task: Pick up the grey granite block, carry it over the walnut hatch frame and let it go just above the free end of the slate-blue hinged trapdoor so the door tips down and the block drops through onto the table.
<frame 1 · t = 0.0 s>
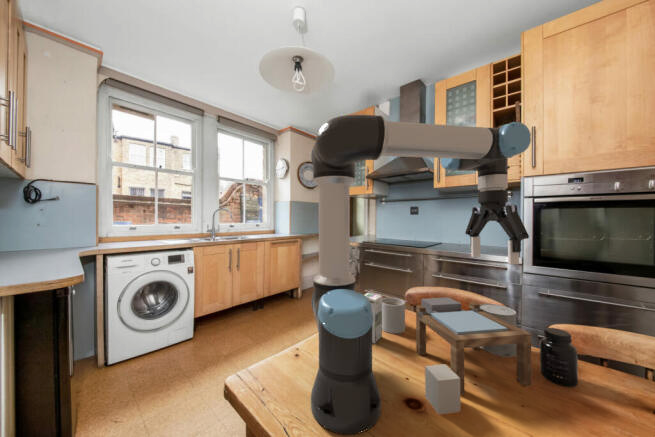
hand: (493, 260, 72), 28 cm above the table, tool pointing down, fingers open, 13 cm apart
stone: (442, 403, 52), on the table
short grey cylinder: (497, 349, 74), on the table
mug: (393, 327, 89), on the table
syrup box: (371, 338, 81), on the table
supplement bottle: (558, 380, 60), on the table
trapdoor: (455, 316, 70), point 12 cm above the table, hinge at 0.0°
hatch frame: (467, 366, 65), on the table
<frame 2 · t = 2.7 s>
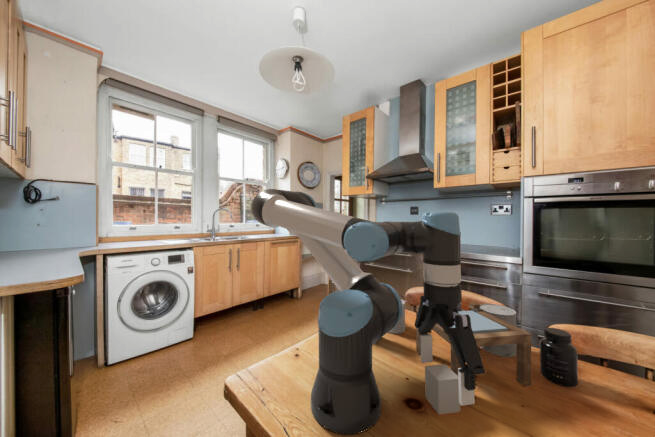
hand: (444, 380, 52), 5 cm above the table, tool pointing down, fingers open, 13 cm apart
nothing on the table moved.
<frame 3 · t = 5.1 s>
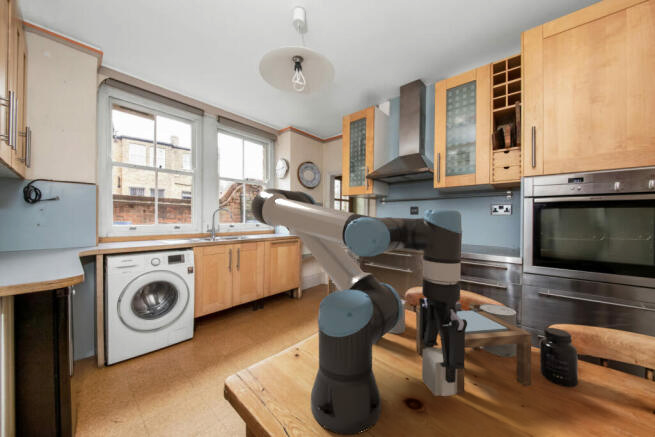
hand: (438, 384, 52), 4 cm above the table, tool pointing down, fingers closed on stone, 5 cm apart
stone: (438, 386, 52), point 3 cm above the table, touching gripper
everything else where it was.
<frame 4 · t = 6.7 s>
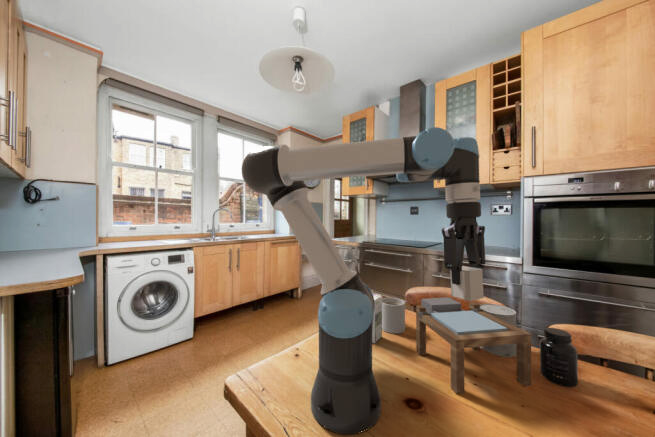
hand: (466, 295, 59), 22 cm above the table, tool pointing down, fingers closed on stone, 5 cm apart
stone: (467, 296, 59), point 21 cm above the table, touching gripper
everything else where it was.
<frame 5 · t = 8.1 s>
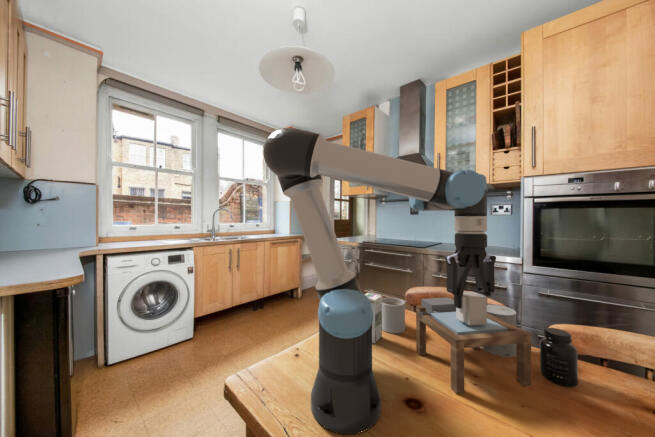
hand: (470, 319, 64), 14 cm above the table, tool pointing down, fingers closed on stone, 5 cm apart
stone: (471, 320, 63), point 13 cm above the table, touching gripper
everything else where it was.
when the fingers open (14 cm above the table, at t = 8.5 s): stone drops 7 cm and tips over, point 7 cm above the table.
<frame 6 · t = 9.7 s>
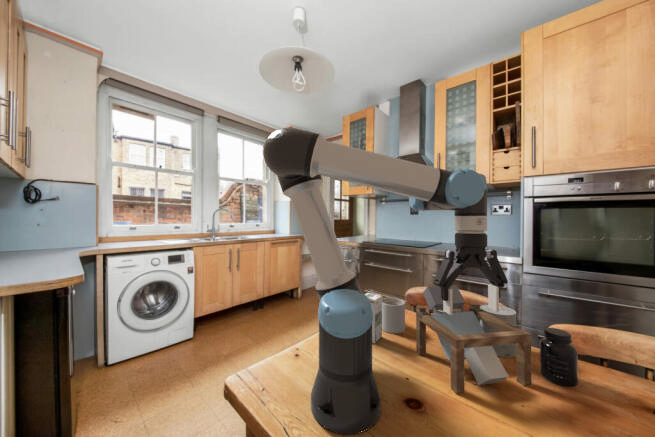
hand: (471, 311, 64), 16 cm above the table, tool pointing down, fingers open, 13 cm apart
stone: (476, 349, 62), point 7 cm above the table, tilted 133°
trapdoor: (454, 319, 70), point 11 cm above the table, hinge at -44.1°
everything else where it was.
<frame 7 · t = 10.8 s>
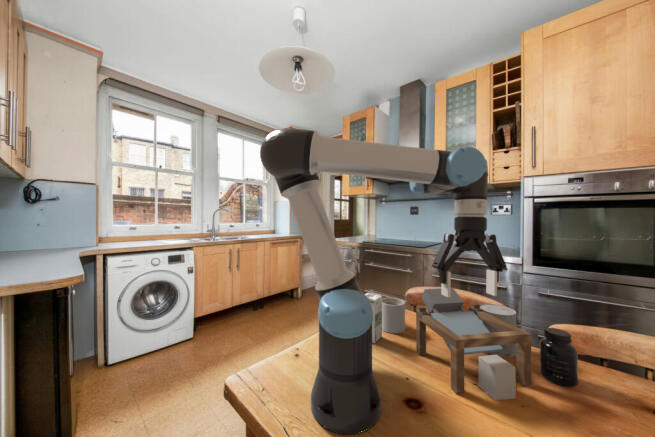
hand: (468, 295, 64), 20 cm above the table, tool pointing down, fingers open, 13 cm apart
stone: (496, 361, 56), point 7 cm above the table, tilted 180°
trapdoor: (455, 318, 70), point 11 cm above the table, hinge at -29.4°
everything else where it was.
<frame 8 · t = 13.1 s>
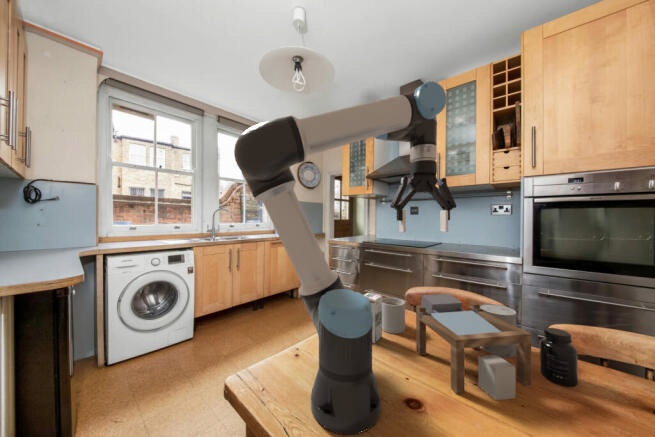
hand: (423, 231, 72), 37 cm above the table, tool pointing down, fingers open, 13 cm apart
trapdoor: (455, 317, 70), point 12 cm above the table, hinge at -9.5°
everything else where it was.
at the end: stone point 6.9 cm above the table; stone inside the target area (7.4 cm from its centre), point 6.9 cm above the table; the gripper is holding nothing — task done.
